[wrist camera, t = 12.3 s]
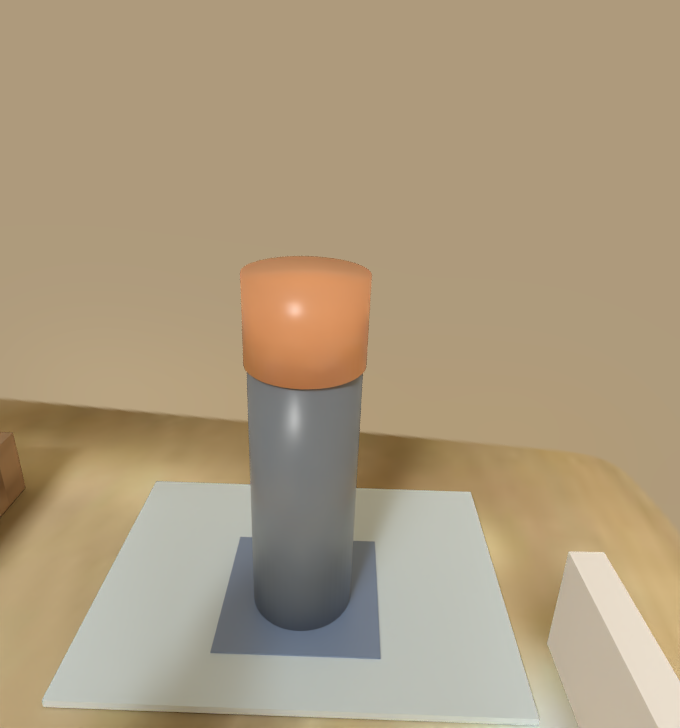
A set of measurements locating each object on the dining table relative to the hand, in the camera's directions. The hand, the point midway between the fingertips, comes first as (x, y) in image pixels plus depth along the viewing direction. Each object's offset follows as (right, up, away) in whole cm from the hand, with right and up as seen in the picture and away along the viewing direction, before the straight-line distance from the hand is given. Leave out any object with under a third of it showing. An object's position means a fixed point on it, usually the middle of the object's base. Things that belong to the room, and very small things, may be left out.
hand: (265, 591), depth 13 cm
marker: (0, -4, +10) cm, 11 cm away
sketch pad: (0, -4, +11) cm, 12 cm away
